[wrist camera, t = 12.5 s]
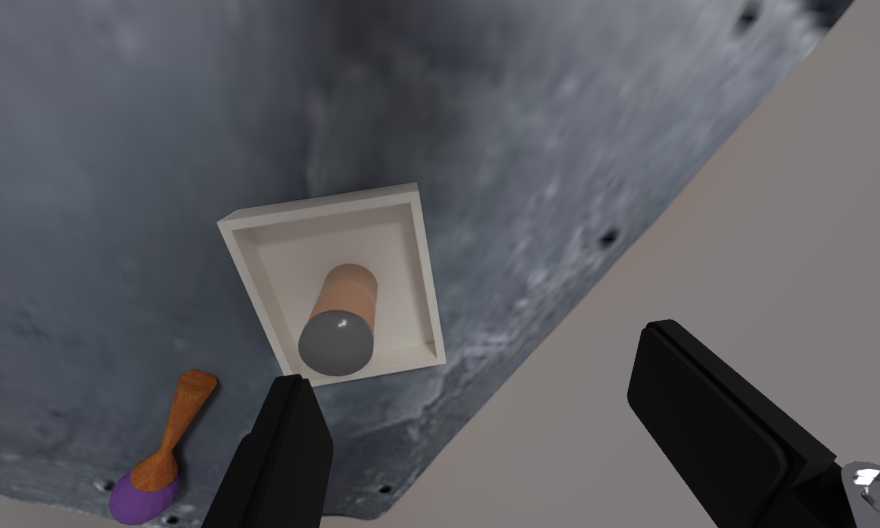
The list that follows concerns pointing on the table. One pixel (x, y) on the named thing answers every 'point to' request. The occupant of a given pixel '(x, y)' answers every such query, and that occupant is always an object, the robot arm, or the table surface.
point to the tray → (332, 244)
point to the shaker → (341, 323)
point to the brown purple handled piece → (161, 457)
